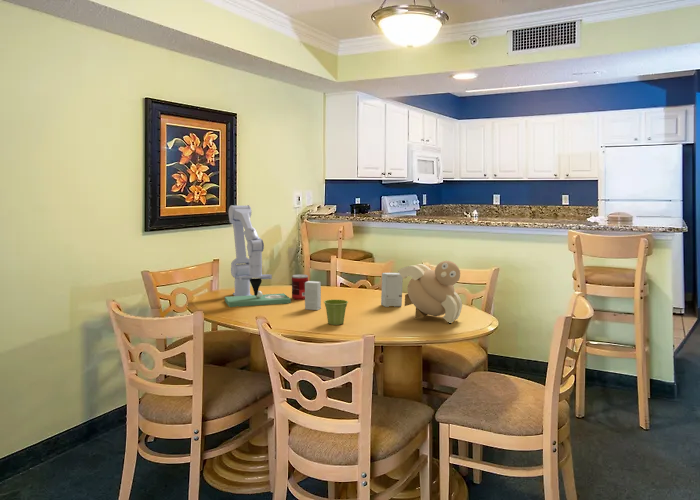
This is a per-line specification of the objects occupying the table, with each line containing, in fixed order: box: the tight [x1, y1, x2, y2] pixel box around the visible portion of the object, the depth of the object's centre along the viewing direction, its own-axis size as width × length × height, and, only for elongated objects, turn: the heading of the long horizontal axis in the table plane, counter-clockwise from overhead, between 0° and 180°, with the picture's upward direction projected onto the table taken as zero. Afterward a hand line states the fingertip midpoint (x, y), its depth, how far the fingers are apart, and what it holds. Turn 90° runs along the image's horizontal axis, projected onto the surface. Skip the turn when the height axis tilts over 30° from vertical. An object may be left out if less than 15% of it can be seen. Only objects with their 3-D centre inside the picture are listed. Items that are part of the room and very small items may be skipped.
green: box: [224, 292, 292, 308], centre depth 255 cm, size 14×28×2 cm, turn 110°
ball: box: [256, 290, 264, 298], centre depth 255 cm, size 4×4×4 cm
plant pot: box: [323, 299, 349, 326], centre depth 216 cm, size 9×9×9 cm
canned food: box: [291, 273, 309, 301], centre depth 265 cm, size 8×8×11 cm
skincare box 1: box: [304, 280, 322, 311], centre depth 241 cm, size 6×4×12 cm
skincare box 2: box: [380, 272, 404, 308], centre depth 250 cm, size 8×6×15 cm
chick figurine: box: [397, 260, 463, 324], centre depth 224 cm, size 30×28×23 cm
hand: (256, 295), depth 254 cm, fingers closed, pressing on ball
